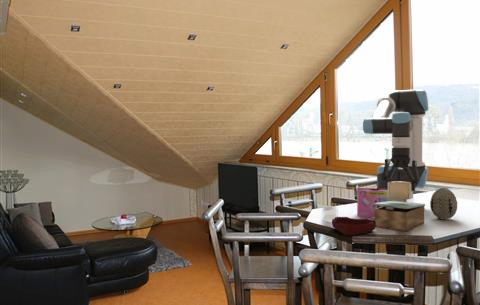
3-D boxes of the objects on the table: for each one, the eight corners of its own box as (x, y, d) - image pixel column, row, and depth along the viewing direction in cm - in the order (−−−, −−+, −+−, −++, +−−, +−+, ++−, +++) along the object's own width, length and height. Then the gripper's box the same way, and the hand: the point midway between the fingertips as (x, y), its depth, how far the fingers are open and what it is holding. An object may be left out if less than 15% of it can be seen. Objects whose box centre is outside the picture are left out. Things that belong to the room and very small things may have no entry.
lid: (372, 207, 187) (373, 203, 187) (392, 204, 204) (393, 200, 204) (406, 211, 177) (406, 207, 177) (424, 207, 194) (425, 203, 194)
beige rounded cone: (386, 198, 190) (386, 182, 190) (394, 195, 197) (394, 180, 197) (406, 200, 185) (406, 183, 184) (414, 197, 191) (414, 181, 191)
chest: (374, 227, 188) (374, 209, 187) (394, 219, 204) (394, 202, 204) (406, 231, 179) (406, 212, 178) (424, 223, 195) (424, 205, 195)
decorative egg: (462, 221, 198) (463, 189, 198) (438, 222, 197) (438, 189, 197) (448, 216, 210) (448, 186, 209) (425, 216, 209) (425, 186, 208)
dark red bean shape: (325, 234, 176) (325, 222, 175) (336, 226, 190) (336, 215, 190) (369, 239, 167) (369, 227, 167) (377, 230, 182) (377, 219, 181)
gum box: (406, 215, 213) (406, 188, 212) (409, 219, 205) (409, 191, 204) (356, 214, 218) (357, 187, 217) (357, 217, 210) (358, 189, 209)
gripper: (373, 146, 194) (373, 195, 195) (423, 147, 180) (422, 200, 181) (380, 146, 200) (380, 194, 201) (428, 147, 185) (428, 198, 186)
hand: (400, 197), depth 191 cm, fingers closed on beige rounded cone, 9 cm apart
